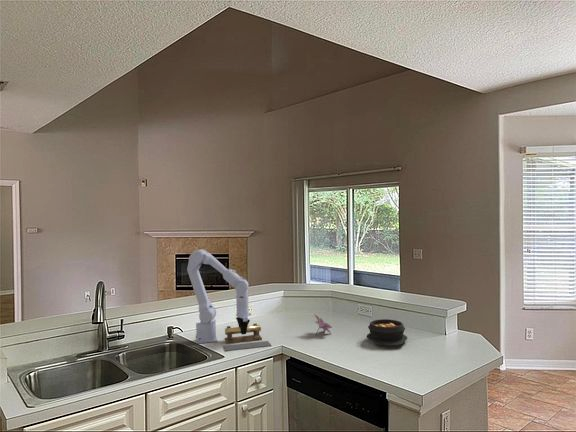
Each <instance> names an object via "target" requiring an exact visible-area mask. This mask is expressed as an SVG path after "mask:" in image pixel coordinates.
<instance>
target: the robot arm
mask: <svg viewBox="0 0 576 432" xmlns="http://www.w3.org/2000/svg"><path fill="white" fill-rule="evenodd" d="M202 264H204V265H210V266H211V267H212V268H214V269H215V270H216V271H218V272H219V273H220V274H221V275H222V279H224V280H225V281H226V282H227V283H228V284H229V285H231V286H232V287H234V290H235V291H236V297H235V298H236V313H235V315H236V317H235V319H236V321H237V323H238V324H237V325H238V327H240V330H241V333H240V334H241V335H246V334H247V333H246V332H247V326H249V323H250V319H248V318H249V316H252V313H250V312H249V291H248V289H249V281H248V280H247V279H245V278H244V277H243V276H240V275H239V274H238V273H237V271H236V270H235V269H232V268H226V267H225V266H224V264H222V263H221V262H220V261H219V260H218V259H217V258H216V257H215V256H213V254H211V253H210V252H208V251H207V250H206V249H203V248H200V249H197V250H194V251H192V252H191V254H190V255H189V257H188V263H187V268H186V270H187V274H188V276H189V277H188V278H189V280H190V282H191V283H190V284H191V286H192V288H193V292H194V295H195V298H196V301H197V303H198V311H199V315H198V316H199V321H200V322H196V323H195V324H196V325H195V328H196V329H195V332H196V333H195V340H196V343H197V344H205V343H214V342H215V343H216V342H218V341H219V340H218V337H217V327H216V324H217V323H216V319H215V317H216V315H217V309H216V308H215V307H214V306H213V304H212V302H211V300H209V297H208V293H207V291H206V288H205V286H204V282H203V278H202V277H201V272H200V268H201V266H202Z"/></svg>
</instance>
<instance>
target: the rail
mask: <svg viewBox="0 0 576 432" xmlns="http://www.w3.org/2000/svg"><path fill="white" fill-rule="evenodd" d="M255 330H259V332H261V331H262V327H261V324H257V325H254V326H253V325H248V326H247V332H246V334H247V333H253V332H255ZM229 333H232V335H237V334H241V330H240V327H239V326H236V327H231V328H227V327H226V328H224V334H225V336H227V335H229Z"/></svg>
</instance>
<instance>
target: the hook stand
mask: <svg viewBox="0 0 576 432" xmlns="http://www.w3.org/2000/svg"><path fill="white" fill-rule="evenodd" d="M254 325H258V323H253V324H252V326H254ZM226 328H232V327H231V325H227V326H226ZM252 333H253V334H251V335H249V334H247V335H240V336H239V335H238V336H233V334H232V333H229V335H226V337H224V341H225V343H226V345H231V344H240V343H249V342H255V341H256V342H258V341H263V337H262V336H261V335H260V331H259V330H255V332H252Z"/></svg>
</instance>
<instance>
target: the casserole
mask: <svg viewBox="0 0 576 432" xmlns="http://www.w3.org/2000/svg"><path fill="white" fill-rule="evenodd" d="M367 329H368V330H369V333H367V335H366V338H367V339H368V340H369V341H372V342H373V343H375V344H377V345H381V346H391V347H392V346H401V345H403V344H404V343H405V341H407V340H408V336H407V335H405V334H404V331H406V327H405V326H404V323H403V322H402V321H399V320H395V319H386V318H385V319H384V318H383V319H375V320H372V321H370V323H369V325H368V326H367Z"/></svg>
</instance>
